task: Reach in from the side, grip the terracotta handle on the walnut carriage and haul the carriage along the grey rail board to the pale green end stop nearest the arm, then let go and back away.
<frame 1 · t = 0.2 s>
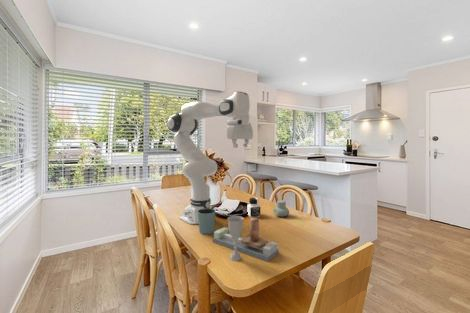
hand: (240, 147, 129), 48 cm above the table, tool pointing down, fingers open, 8 cm apart
chalice: (235, 258, 105), on the table
carriage: (254, 231, 111), point 10 cm above the table, slide at 6.0 cm
teal cup: (206, 231, 134), on the table
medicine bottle: (253, 215, 161), on the table
grey rounded piece: (280, 215, 161), on the table
rail board: (243, 247, 115), on the table
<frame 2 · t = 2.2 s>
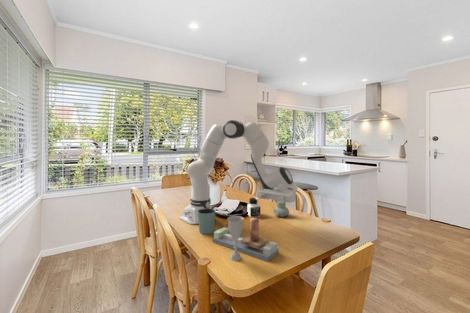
hand: (268, 198, 120), 22 cm above the table, tool horizontal, fingers open, 8 cm apart
nothing on the table moved.
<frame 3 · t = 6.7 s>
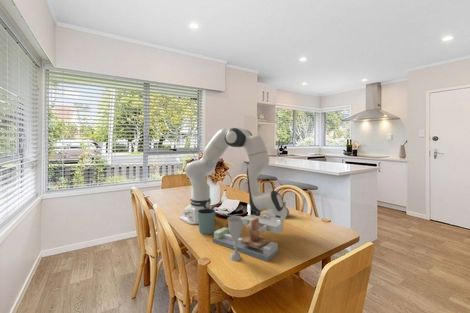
hand: (253, 228, 110), 11 cm above the table, tool horizontal, fingers closed on carriage, 4 cm apart
carriage: (254, 231, 111), point 10 cm above the table, slide at 6.0 cm, touching gripper
everything else where it was.
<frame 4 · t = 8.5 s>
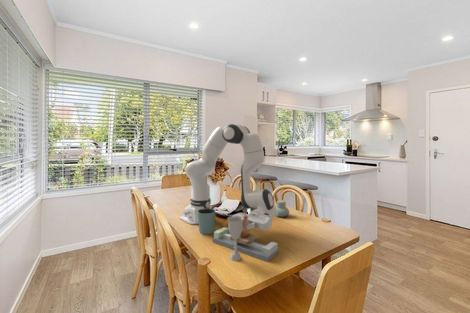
hand: (242, 225, 114), 11 cm above the table, tool horizontal, fingers closed on carriage, 4 cm apart
carriage: (243, 227, 115), point 10 cm above the table, slide at -0.4 cm, touching gripper
everything else where it was.
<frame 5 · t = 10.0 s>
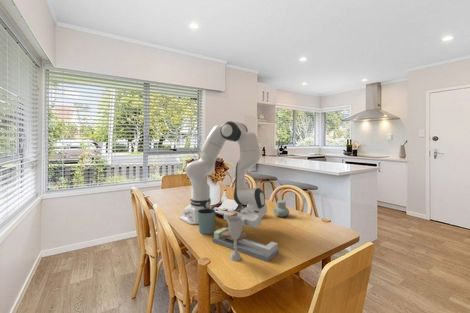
hand: (232, 222, 117), 11 cm above the table, tool horizontal, fingers closed on carriage, 4 cm apart
carriage: (233, 225, 118), point 10 cm above the table, slide at -6.5 cm, touching gripper
everything else where it was.
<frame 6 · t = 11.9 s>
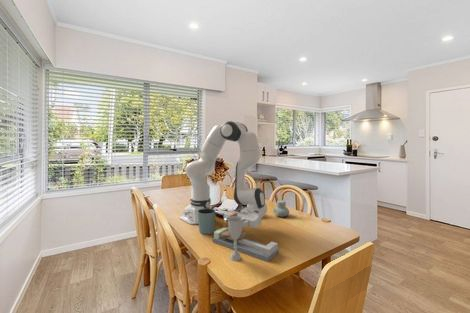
hand: (232, 222, 117), 11 cm above the table, tool horizontal, fingers open, 8 cm apart
carriage: (233, 225, 118), point 10 cm above the table, slide at -6.5 cm
everything else where it was.
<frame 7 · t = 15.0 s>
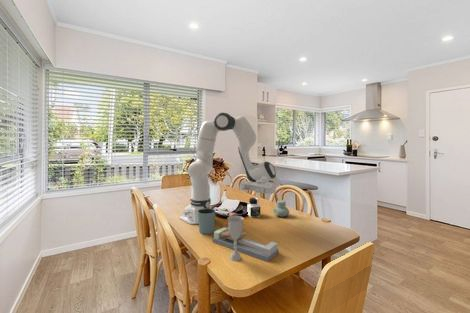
hand: (249, 189, 129), 25 cm above the table, tool horizontal, fingers open, 8 cm apart
nothing on the table moved.
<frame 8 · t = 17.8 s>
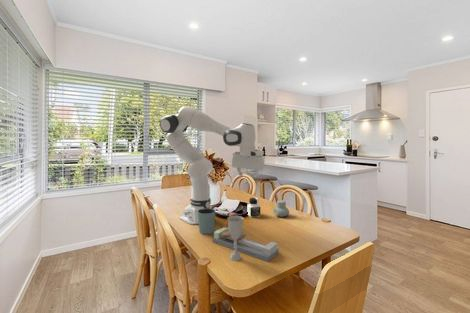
hand: (247, 176, 134), 31 cm above the table, tool pointing down, fingers open, 8 cm apart
nothing on the table moved.
at the end: carriage slide at -6.5 cm; the gripper is holding nothing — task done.
